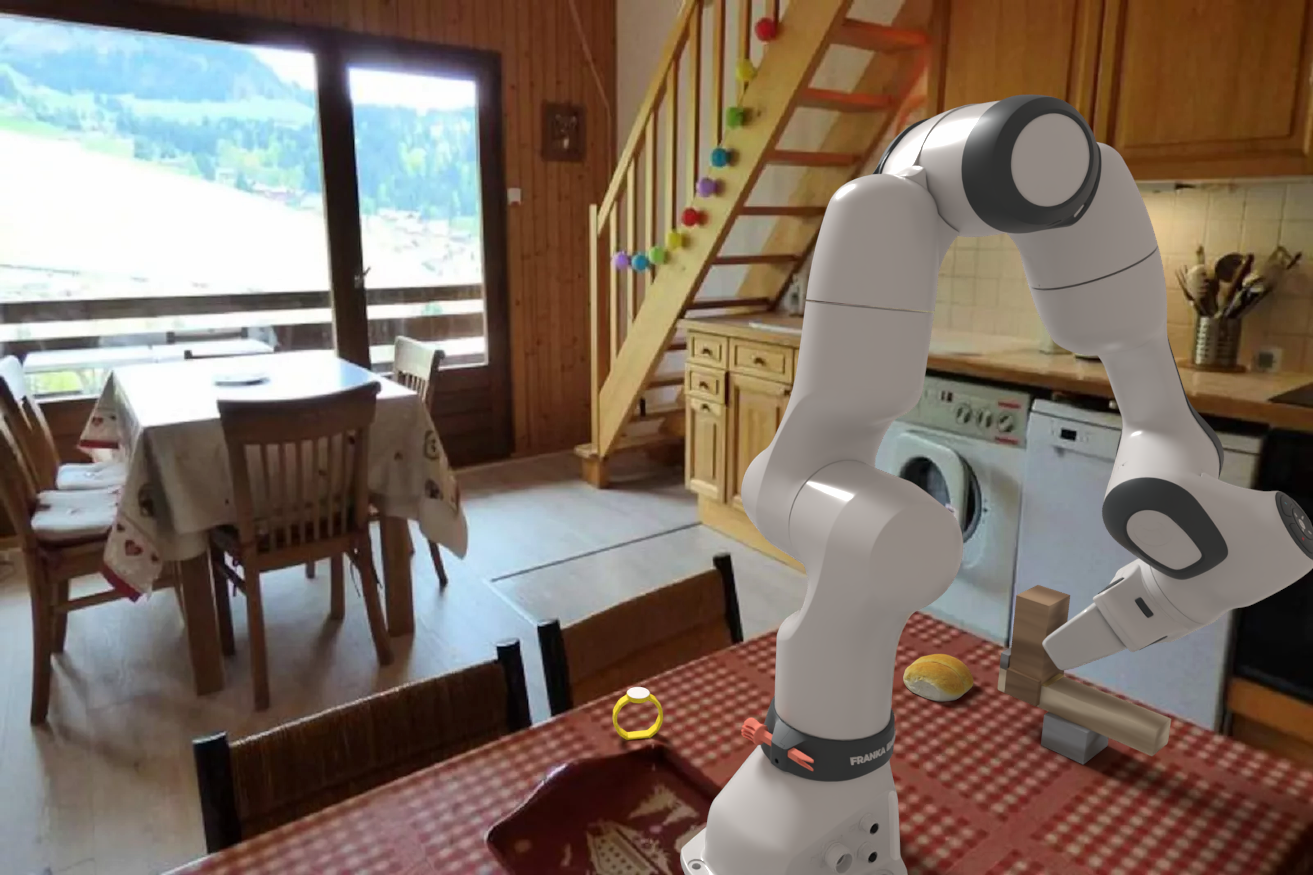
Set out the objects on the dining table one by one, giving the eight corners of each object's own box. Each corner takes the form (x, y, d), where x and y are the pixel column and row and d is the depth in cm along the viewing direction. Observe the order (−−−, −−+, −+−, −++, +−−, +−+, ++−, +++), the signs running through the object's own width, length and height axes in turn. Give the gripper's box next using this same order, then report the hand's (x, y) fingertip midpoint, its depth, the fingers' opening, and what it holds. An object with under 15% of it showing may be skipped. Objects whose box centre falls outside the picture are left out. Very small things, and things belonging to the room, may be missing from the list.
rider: (1035, 706, 101) (1046, 607, 98) (1004, 693, 104) (1013, 596, 101) (1061, 689, 105) (1072, 593, 102) (1030, 677, 108) (1040, 583, 105)
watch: (659, 729, 105) (662, 685, 104) (662, 742, 103) (666, 697, 102) (610, 731, 104) (613, 686, 103) (613, 744, 102) (616, 698, 100)
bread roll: (980, 684, 116) (983, 657, 115) (951, 710, 109) (954, 682, 108) (923, 664, 121) (925, 638, 120) (892, 687, 115) (894, 660, 114)
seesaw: (1143, 792, 93) (1154, 717, 91) (990, 721, 106) (996, 655, 104) (1166, 771, 96) (1177, 699, 94) (1016, 705, 110) (1022, 641, 108)
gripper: (1179, 550, 99) (1085, 602, 108) (1095, 595, 86) (997, 649, 96) (1217, 598, 96) (1117, 647, 106) (1136, 652, 84) (1032, 702, 94)
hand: (1059, 648), depth 101 cm, fingers closed, pressing on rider
